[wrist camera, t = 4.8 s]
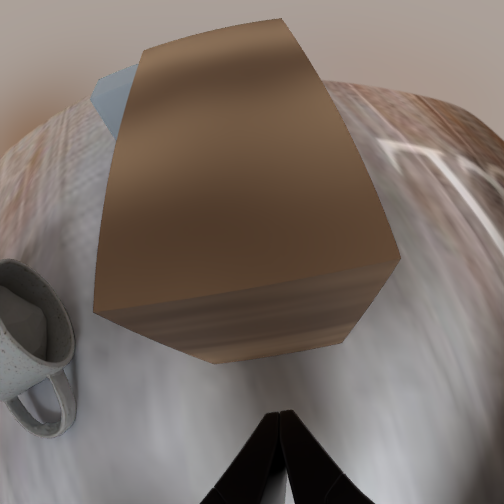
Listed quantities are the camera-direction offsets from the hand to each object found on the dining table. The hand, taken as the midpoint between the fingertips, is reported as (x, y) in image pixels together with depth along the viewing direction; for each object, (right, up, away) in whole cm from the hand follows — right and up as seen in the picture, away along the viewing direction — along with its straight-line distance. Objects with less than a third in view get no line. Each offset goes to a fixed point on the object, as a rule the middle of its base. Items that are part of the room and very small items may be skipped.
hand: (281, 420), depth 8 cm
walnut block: (0, +5, +11) cm, 12 cm away
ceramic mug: (-16, -3, +9) cm, 19 cm away
